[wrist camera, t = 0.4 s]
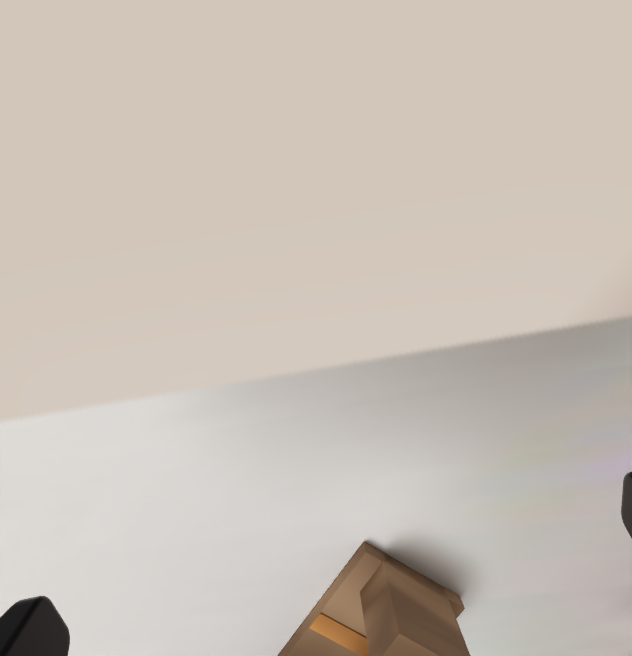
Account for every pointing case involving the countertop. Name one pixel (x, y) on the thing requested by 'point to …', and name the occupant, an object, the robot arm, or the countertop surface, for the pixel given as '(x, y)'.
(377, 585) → the rail
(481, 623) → the countertop surface
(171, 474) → the countertop surface
